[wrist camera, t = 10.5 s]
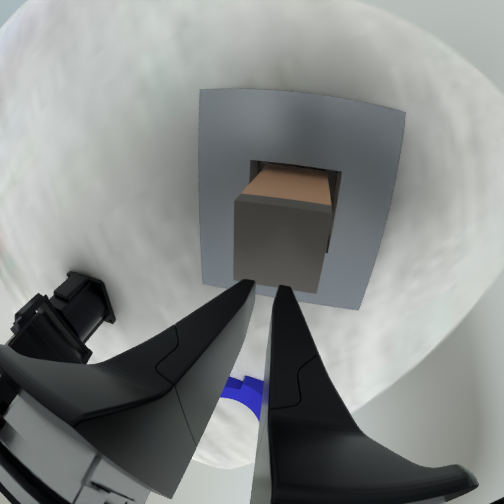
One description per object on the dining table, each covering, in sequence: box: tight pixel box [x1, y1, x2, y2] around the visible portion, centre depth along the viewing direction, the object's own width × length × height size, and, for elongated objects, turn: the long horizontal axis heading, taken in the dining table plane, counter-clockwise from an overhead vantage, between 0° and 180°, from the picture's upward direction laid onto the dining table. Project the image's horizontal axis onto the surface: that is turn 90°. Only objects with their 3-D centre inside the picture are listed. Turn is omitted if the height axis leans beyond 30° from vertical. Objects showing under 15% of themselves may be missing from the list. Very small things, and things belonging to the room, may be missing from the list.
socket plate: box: [199, 89, 406, 310], centre depth 18 cm, size 14×12×2 cm
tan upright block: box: [233, 164, 332, 294], centre depth 15 cm, size 4×4×8 cm
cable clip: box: [220, 376, 264, 423], centre depth 29 cm, size 12×4×6 cm, turn 75°
